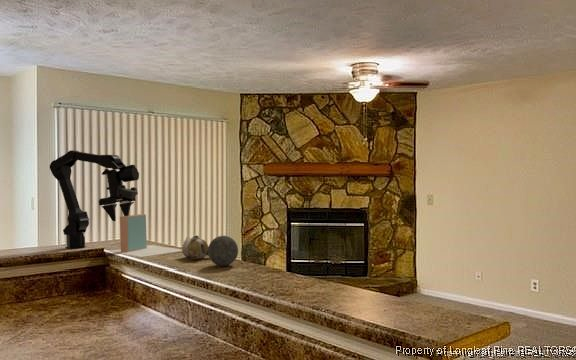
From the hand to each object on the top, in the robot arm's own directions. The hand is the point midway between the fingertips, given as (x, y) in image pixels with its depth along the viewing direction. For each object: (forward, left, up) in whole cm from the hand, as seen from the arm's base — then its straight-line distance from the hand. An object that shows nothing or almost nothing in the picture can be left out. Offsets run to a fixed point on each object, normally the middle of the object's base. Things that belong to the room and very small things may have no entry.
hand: (120, 220), depth 220 cm
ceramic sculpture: (+4, -49, -12) cm, 51 cm away
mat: (+1, -19, -12) cm, 23 cm away
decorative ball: (0, -69, -12) cm, 70 cm away
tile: (-1, -13, -11) cm, 17 cm away
